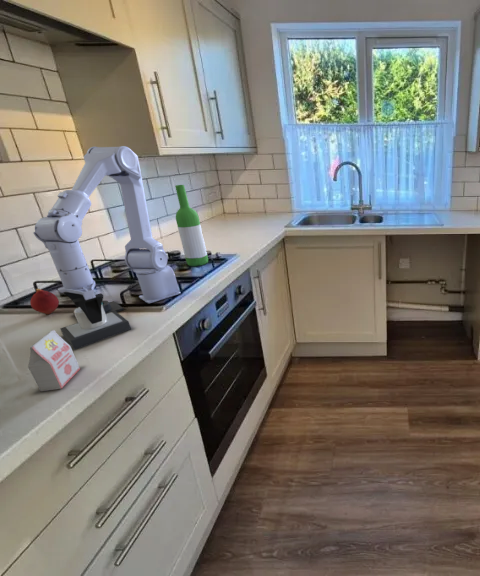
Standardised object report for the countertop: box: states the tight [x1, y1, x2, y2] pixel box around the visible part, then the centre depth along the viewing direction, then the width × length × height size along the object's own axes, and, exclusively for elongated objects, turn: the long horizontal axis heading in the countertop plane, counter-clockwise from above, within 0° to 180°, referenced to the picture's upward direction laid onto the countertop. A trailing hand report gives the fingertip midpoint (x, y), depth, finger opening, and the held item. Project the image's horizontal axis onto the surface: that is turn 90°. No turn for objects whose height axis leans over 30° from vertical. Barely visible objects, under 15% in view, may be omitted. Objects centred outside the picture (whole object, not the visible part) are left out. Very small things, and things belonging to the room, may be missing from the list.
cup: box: [73, 305, 108, 329], centre depth 91 cm, size 6×6×4 cm
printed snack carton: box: [27, 329, 81, 392], centre depth 73 cm, size 4×7×10 cm, turn 12°
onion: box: [29, 288, 60, 315], centre depth 102 cm, size 6×6×8 cm
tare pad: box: [72, 300, 125, 318], centre depth 103 cm, size 10×8×2 cm
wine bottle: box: [174, 184, 209, 267], centre depth 136 cm, size 8×8×30 cm
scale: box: [59, 311, 132, 350], centre depth 92 cm, size 12×10×3 cm
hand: (92, 317), depth 91 cm, fingers open, 7 cm apart
